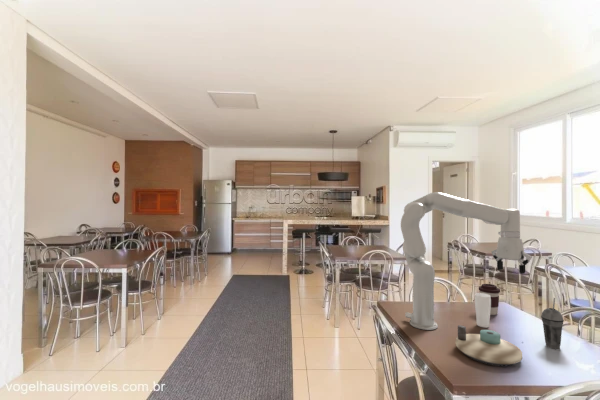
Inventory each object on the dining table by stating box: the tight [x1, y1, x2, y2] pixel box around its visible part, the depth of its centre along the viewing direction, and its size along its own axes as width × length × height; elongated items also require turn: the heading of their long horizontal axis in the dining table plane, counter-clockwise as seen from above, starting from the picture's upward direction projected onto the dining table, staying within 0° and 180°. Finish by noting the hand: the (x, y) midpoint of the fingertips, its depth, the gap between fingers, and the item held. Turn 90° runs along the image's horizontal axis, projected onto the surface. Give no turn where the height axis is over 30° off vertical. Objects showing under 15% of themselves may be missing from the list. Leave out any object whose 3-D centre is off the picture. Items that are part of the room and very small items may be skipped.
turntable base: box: [463, 353, 516, 367], centre depth 118 cm, size 18×18×2 cm
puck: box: [479, 329, 501, 344], centre depth 122 cm, size 7×7×3 cm
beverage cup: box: [540, 297, 565, 350], centre depth 124 cm, size 7×7×20 cm
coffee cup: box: [478, 283, 501, 316], centre depth 164 cm, size 10×10×15 cm
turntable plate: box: [455, 325, 523, 365], centre depth 118 cm, size 22×22×6 cm
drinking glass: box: [474, 292, 491, 329], centre depth 146 cm, size 7×7×15 cm
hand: (510, 271), depth 142 cm, fingers open, 9 cm apart
